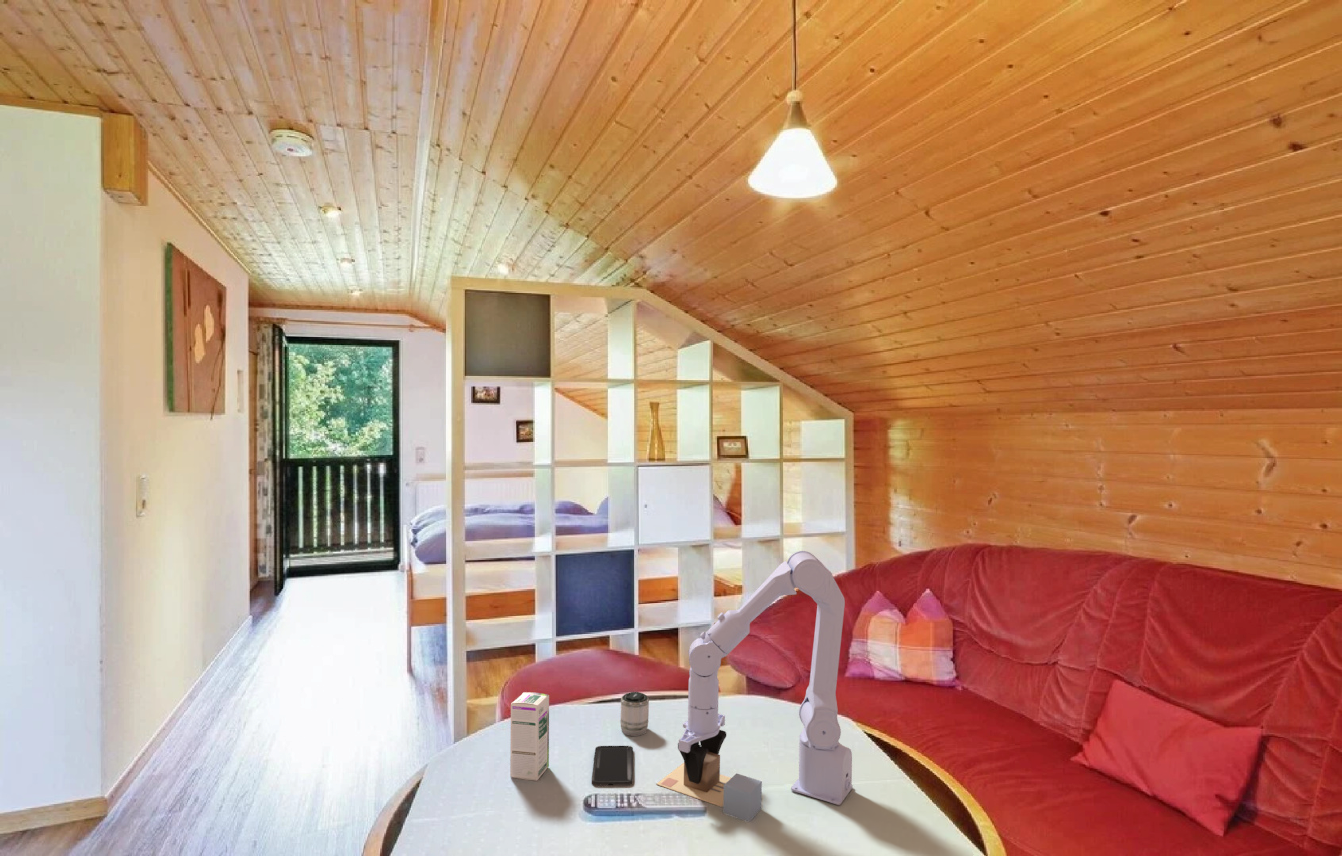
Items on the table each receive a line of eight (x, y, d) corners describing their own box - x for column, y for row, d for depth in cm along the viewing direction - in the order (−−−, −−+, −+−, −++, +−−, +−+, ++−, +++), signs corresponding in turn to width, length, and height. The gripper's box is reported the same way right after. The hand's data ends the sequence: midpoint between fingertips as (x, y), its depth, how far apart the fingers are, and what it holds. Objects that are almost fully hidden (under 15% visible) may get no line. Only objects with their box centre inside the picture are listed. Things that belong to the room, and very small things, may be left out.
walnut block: (719, 781, 131) (720, 754, 131) (706, 792, 127) (707, 765, 127) (696, 773, 134) (697, 748, 134) (683, 784, 130) (684, 758, 130)
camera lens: (616, 734, 151) (616, 698, 151) (626, 722, 157) (626, 688, 157) (642, 738, 149) (643, 702, 149) (652, 726, 155) (652, 691, 155)
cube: (761, 809, 122) (761, 781, 122) (749, 822, 118) (749, 793, 118) (735, 800, 125) (736, 773, 125) (723, 813, 121) (723, 784, 121)
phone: (632, 745, 144) (632, 781, 129) (632, 751, 144) (632, 787, 129) (595, 745, 144) (590, 781, 129) (595, 751, 144) (590, 788, 129)
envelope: (746, 783, 131) (746, 782, 131) (722, 807, 122) (722, 806, 122) (683, 763, 138) (683, 762, 138) (656, 784, 130) (656, 783, 130)
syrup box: (537, 781, 130) (539, 704, 130) (508, 777, 131) (510, 701, 131) (549, 767, 136) (550, 693, 136) (521, 763, 137) (522, 690, 137)
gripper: (703, 687, 139) (702, 755, 139) (665, 711, 126) (663, 785, 126) (734, 695, 135) (733, 764, 135) (698, 720, 123) (696, 797, 123)
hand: (701, 775), depth 130 cm, fingers closed on walnut block, 5 cm apart
